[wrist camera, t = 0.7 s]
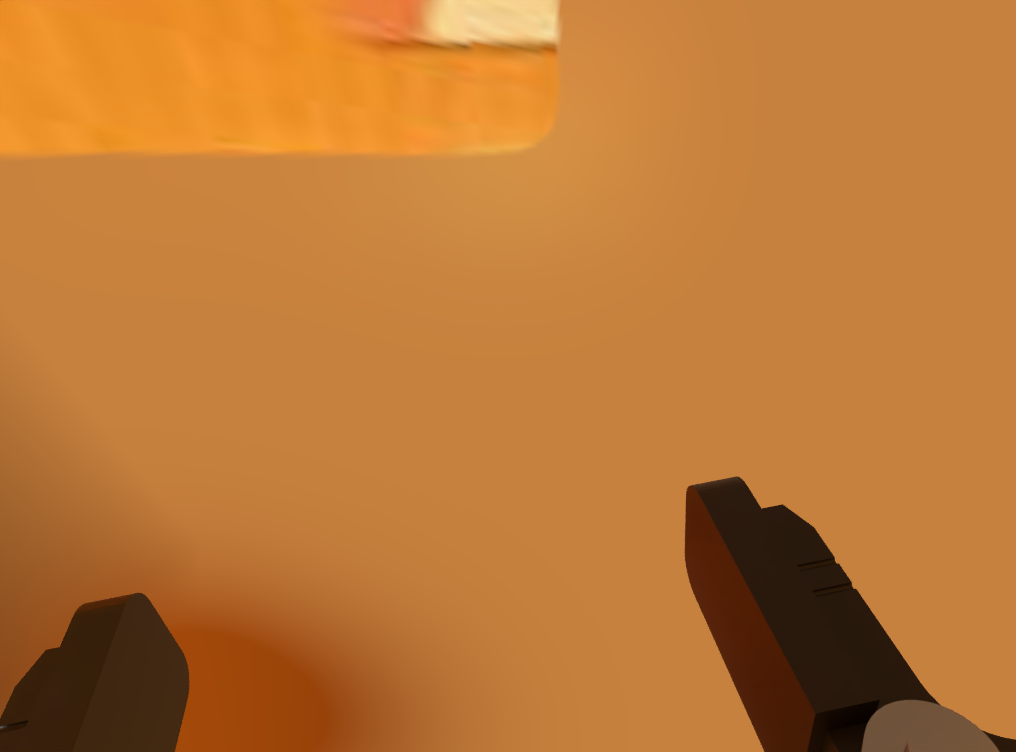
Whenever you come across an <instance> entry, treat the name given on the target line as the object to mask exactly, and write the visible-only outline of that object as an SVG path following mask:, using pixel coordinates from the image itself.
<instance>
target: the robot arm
mask: <svg viewBox="0 0 1016 752" xmlns="http://www.w3.org/2000/svg"><path fill="white" fill-rule="evenodd" d="M685 523H686V524H685V561H686V568H687V573H688V577H689V581H690V584H691V587H692V590H693V593H694V595H695V598H696V600H697V602H698V604H699V606H700V609H701V611H702V613H703V615H704V618H705V619H706V622H707V624H708V626H709V629H710V631H711V633H712V635H713V638H714V640H715V642H716V644H717V647H718V649H719V651H720V653H721V656H722V658H723V660H724V662H725V664H726V667H727V669H728V671H729V673H730V675H731V678H732V680H733V682H734V685H735V687H736V689H737V691H738V693H739V696H740V698H741V700H742V702H743V704H744V707H745V709H746V711H747V714H748V716H749V718H750V720H751V723H752V725H753V727H754V729H755V731H756V734H757V736H758V738H759V740H760V743H761V745H762V747H763V749H764V752H1016V740H1014V739H1009V738H1003V737H1000V736H996V735H993V734H990V733H987V732H985V731H982V730H980V729H979V728H978V727H977V726H976V725H975V724H973V723H972V722H971V721H969V720H968V719H966V718H965V717H963V716H962V715H960V714H958V713H956V712H954V711H953V710H950V709H948V708H946V707H943V706H941V705H940V704H939V703H938V702H937V701H936V700H935V699H934V698H933V697H932V696H931V695H930V694H929V693H928V692H927V690H926V689H925V688H924V687H923V685H922V684H921V683H920V681H919V680H918V678H917V677H916V676H915V674H914V673H913V671H912V670H911V668H910V667H909V665H908V664H907V662H906V661H905V660H904V658H903V656H902V655H901V654H900V652H899V651H898V649H897V648H896V646H895V645H894V643H893V642H892V641H891V639H890V638H889V636H888V635H887V633H886V632H885V630H884V629H883V627H882V626H881V624H880V623H879V621H878V620H877V619H876V617H875V616H874V614H873V613H872V611H871V610H870V608H869V607H868V605H867V604H866V603H865V601H864V600H863V598H862V597H861V595H860V594H859V592H858V591H857V590H856V589H853V587H852V582H851V581H850V579H849V578H848V577H847V575H846V573H845V572H844V571H843V569H842V568H841V566H840V565H839V564H836V562H835V558H834V556H833V554H832V553H831V552H830V550H829V549H828V547H827V546H826V545H825V543H824V542H823V540H822V538H821V537H820V536H819V534H818V533H817V531H816V530H815V528H814V527H812V526H811V525H810V524H809V523H807V522H806V521H804V520H803V519H802V518H800V517H799V516H798V515H796V514H795V513H794V512H792V511H791V510H789V509H788V508H786V507H785V506H784V505H778V506H773V507H768V508H763V509H761V507H760V506H759V504H758V502H757V501H756V499H755V498H754V496H753V494H752V493H751V491H750V490H749V488H748V486H747V485H746V484H745V482H744V481H743V480H742V479H741V478H740V477H732V478H727V479H722V480H717V481H711V482H706V483H702V484H696V485H691V486H689V487H688V488H687V492H686V522H685ZM188 693H189V672H188V665H187V662H186V658H185V656H184V654H183V652H182V650H181V649H180V647H179V646H178V644H177V643H176V641H175V639H174V638H173V636H172V635H171V633H170V631H169V630H168V628H167V627H166V625H165V624H164V622H163V620H162V619H161V617H160V616H159V614H158V613H157V611H156V609H155V608H154V607H153V605H152V603H151V602H150V600H149V599H148V598H147V597H146V596H145V595H144V594H142V593H135V594H130V595H125V596H120V597H115V598H110V599H105V600H100V601H95V602H89V603H85V604H83V605H81V606H80V607H79V608H78V609H77V611H76V612H75V614H74V616H73V618H72V620H71V623H70V625H69V627H68V629H67V632H66V634H65V636H64V639H63V641H62V643H61V646H60V647H58V648H53V649H49V650H46V651H45V652H44V653H43V654H42V655H41V657H40V658H39V659H38V660H37V661H36V663H35V664H34V665H33V666H32V667H31V669H30V670H29V671H28V672H27V673H26V675H25V676H24V677H23V678H22V679H21V681H20V682H19V683H18V684H17V685H16V686H15V688H14V690H13V693H12V695H11V697H10V699H9V701H8V703H7V705H6V708H5V710H4V712H3V714H2V716H1V718H0V752H175V748H176V744H177V740H178V736H179V732H180V727H181V724H182V720H183V715H184V711H185V707H186V703H187V698H188Z"/></svg>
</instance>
